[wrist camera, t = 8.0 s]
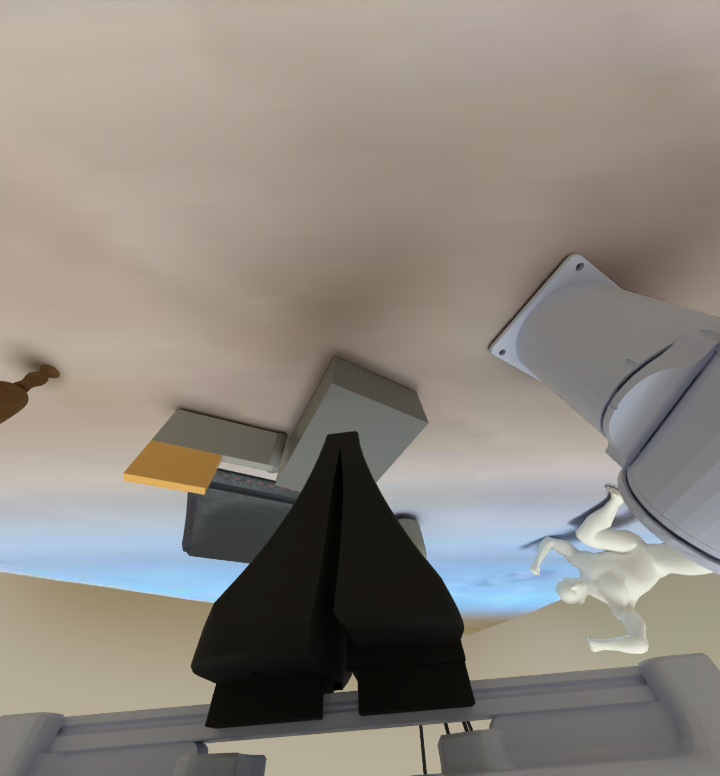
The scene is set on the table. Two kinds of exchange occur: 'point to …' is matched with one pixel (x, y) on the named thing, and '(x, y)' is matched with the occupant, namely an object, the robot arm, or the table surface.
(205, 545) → the wallet
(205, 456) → the side hatch
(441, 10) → the table surface
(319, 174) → the table surface
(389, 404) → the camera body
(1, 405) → the place setting
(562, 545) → the person figurine
